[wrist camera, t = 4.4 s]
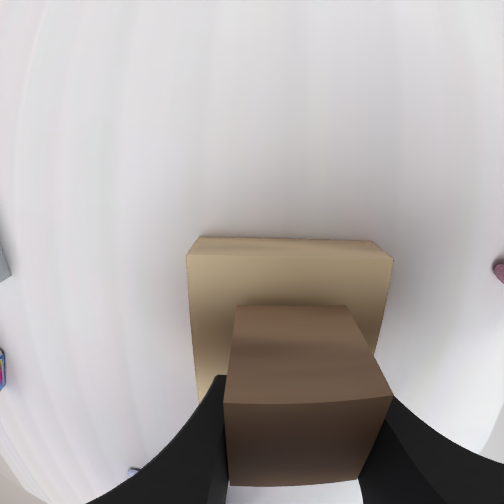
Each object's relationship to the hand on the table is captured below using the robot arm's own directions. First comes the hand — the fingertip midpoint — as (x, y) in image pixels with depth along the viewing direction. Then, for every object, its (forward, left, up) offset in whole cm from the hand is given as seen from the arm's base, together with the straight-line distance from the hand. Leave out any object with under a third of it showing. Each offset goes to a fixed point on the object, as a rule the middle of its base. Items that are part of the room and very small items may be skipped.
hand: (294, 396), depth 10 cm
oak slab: (0, 0, -6) cm, 6 cm away
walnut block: (0, 0, -2) cm, 2 cm away
